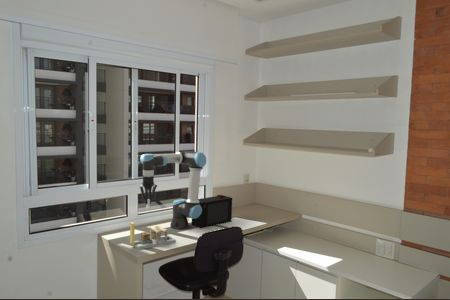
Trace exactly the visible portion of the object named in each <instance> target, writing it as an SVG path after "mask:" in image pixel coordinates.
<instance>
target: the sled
mask: <svg viewBox="0 0 450 300" xmlns="http://www.w3.org/2000/svg"><path fill="white" fill-rule="evenodd" d="M129 227H130V228H129V243H130V245H131V246H133V244H139V243H141V244H145V243H151V242H153V241H152V240H151V239H150V240H146V241H142V240H141V237H140V238H139V239H138V240H136V241H137V242H134V241H135V227H136V225H135V222H133V221H131V222H129Z"/></svg>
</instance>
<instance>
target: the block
mask: <svg viewBox="0 0 450 300" xmlns="http://www.w3.org/2000/svg"><path fill="white" fill-rule="evenodd" d="M140 238H141V240H142V241H146V240H150V232H148V231H145V232H140Z"/></svg>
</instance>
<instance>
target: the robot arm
mask: <svg viewBox="0 0 450 300" xmlns="http://www.w3.org/2000/svg"><path fill="white" fill-rule="evenodd" d="M139 159H140V163H141V164H142V183H141V185H139V186H138V189H140V193H141V197H142V199H143V200H144V203H145V205H146V206H145V207H146V209H147V210H149V209H150V208H151V207H150V205H151V204H152V199H154V197H155V193H156V189H157V187H158V185H157V184H155V182H154V180H155V178H154V177H155V176H154V175H155V171H154V170H155V168H156V167H163V166H167V164H180V165H187V166H188V169H189V180H188V189H187V190H188V191H187V192H188V193H187V199H186V198H181V199H175V200H173V203H172V219H171V221H170V228H172V230H173V229H174V230H186V229H188V228H189V222H188V221H189V220H188V218H189V219H192V218H193V219H196V218H198V217H199V216H200V215H201V212H202V207H201V206H200V205H199V204H200V202H199V200H198V199H199V193H200V184H201V183H200V182H201V181H200V180H201V171H202V170H203V168H204V167H205V166H206V165H207V157H206V155H205V154H204V153H203V152H200V151H192V150H186V151H176V152H175V153H144V154H141V156H140V158H139Z"/></svg>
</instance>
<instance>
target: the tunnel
mask: <svg viewBox="0 0 450 300" xmlns="http://www.w3.org/2000/svg"><path fill="white" fill-rule="evenodd" d="M149 233H150V239H153V238H156V243H158V237H161V236H162V233H164V236H165V242H166V241H167V235H168V229H166V228H165V227H163V226H162V225H155V226H150V227H149Z"/></svg>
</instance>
